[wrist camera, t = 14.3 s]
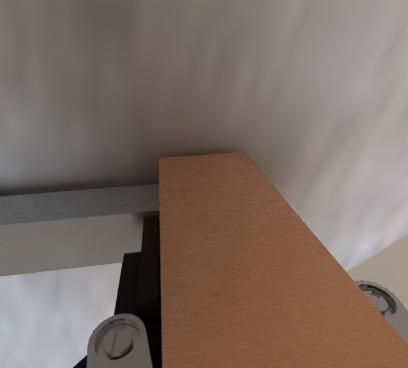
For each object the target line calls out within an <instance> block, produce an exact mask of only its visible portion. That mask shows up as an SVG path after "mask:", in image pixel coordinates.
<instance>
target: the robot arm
mask: <svg viewBox="0 0 408 368" xmlns="http://www.w3.org/2000/svg"><path fill="white" fill-rule="evenodd" d="M354 282H355V283H356V284H357V285H358V287H359V288H360V289H361V290H362V291H363V293H364V294H365V295H366V296H367V297H368V298H369V300H370V301H371V302H372V303H373V304H374V305H375V307H376V308H377V309H378V310H379V311H380V313H381V314H382V315H383V316H384V317H385V318H386V320H387V321H388V322H389V323H390V324H391V325H392V327H393V328H394V329H395V330H396V331H397V333H398V334H399V335H400V336H401V337H402V338H403V340H404V341H405V342H406V343H407V344H408V311H407V310H406V308H405V307H404V306H403V304H402V303H401V301H400V300H399V299H398V298H397V297H396V296H395V295H394V294H393V293H392V292H391V291H389V290H388V289H387V288H385V287H383V286H381V285H379V284H376V283H373V282H370V281H363V280H361V281H354ZM73 368H162V319H161V261H160V219H159V216H158V215H155V216H144V220H143V233H142V246H141V252H133V253H125V254H124V257H123V263H122V269H121V275H120V281H119V287H118V294H117V300H116V306H115V312H114V316H112V317H110V318H107V319H106V320H104V321H103V322H102V323H100V324H99V325H98V326H97V328H96V329H95V330H94V331H93V333H92V335H91V337H90V338H89V342H88V347H87V355H86V356H85V357H84V358H83V359H82V360H81V361H80V362H79V363H78V364H77V365H76V366H74V367H73Z"/></svg>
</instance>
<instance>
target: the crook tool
mask: <svg viewBox="0 0 408 368" xmlns="http://www.w3.org/2000/svg"><path fill="white" fill-rule="evenodd" d="M155 215H158V216H159V219H160V261H161V319H162V368H408V344H407V343H406V342H405V341H404V340H403V338H402V337H401V336H400V335H399V334H398V333H397V331H396V330H395V329H394V328H393V327H392V325H391V324H390V323H389V322H388V321H387V320H386V318H385V317H384V316H383V315H382V314H381V313H380V311H379V310H378V309H377V308H376V307H375V305H374V304H373V303H372V302H371V301H370V300H369V298H368V297H367V296H366V295H365V294H364V293H363V291H362V290H361V289H360V288H359V287H358V285H357V284H356V283H355V282H354V281H353V280H352V278H351V277H350V276H349V275H348V274H347V272H346V271H345V270H344V269H343V268H342V267H341V265H340V264H339V263H338V262H337V261H336V260H335V258H334V257H333V256H332V255H331V254H330V252H329V251H328V250H327V249H326V248H325V247H324V245H323V244H322V243H321V242H320V241H319V239H318V238H317V237H316V236H315V235H314V234H313V232H312V231H311V230H310V229H309V228H308V227H307V225H306V224H305V223H304V222H303V221H302V219H301V218H300V217H299V216H298V215H297V214H296V212H295V211H294V210H293V209H292V208H291V207H290V205H289V204H288V203H287V202H286V201H285V199H284V198H283V197H282V196H281V195H280V194H279V192H278V191H277V190H276V189H275V188H274V186H273V185H272V184H271V183H270V182H269V181H268V179H267V178H266V177H265V176H264V175H263V174H262V172H261V171H260V170H259V169H258V168H257V166H256V165H255V164H254V163H253V162H252V161H251V159H250V158H249V157H248V156H247V155H246V153H245V152H237V153H223V154H208V155H193V156H179V157H164V158H159V184H149V185H137V186H124V187H112V188H100V189H87V190H75V191H62V192H50V193H38V194H25V195H13V196H1V197H0V276H8V275H17V274H25V273H34V272H42V271H51V270H59V269H68V268H77V267H85V266H94V265H102V264H111V263H119V262H123V257H124V254H125V253H133V252H141V246H142V233H143V220H144V216H155Z"/></svg>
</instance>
